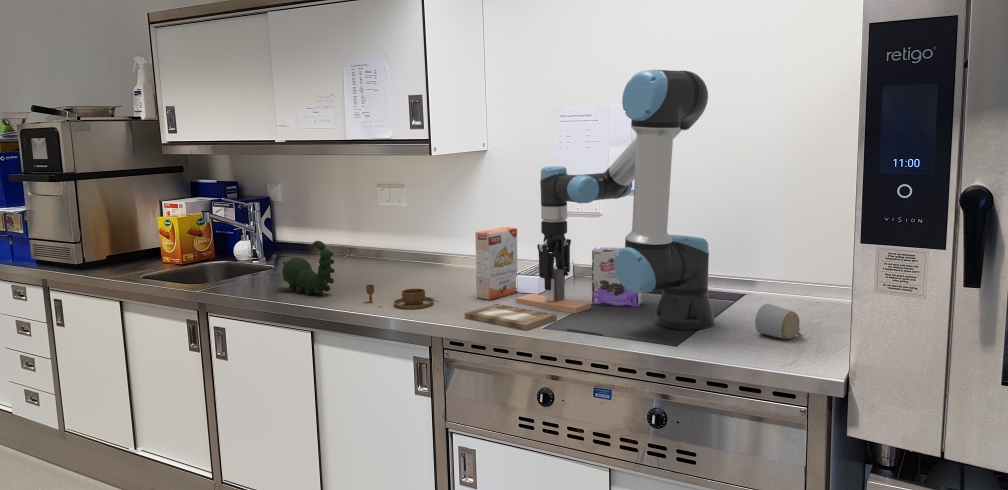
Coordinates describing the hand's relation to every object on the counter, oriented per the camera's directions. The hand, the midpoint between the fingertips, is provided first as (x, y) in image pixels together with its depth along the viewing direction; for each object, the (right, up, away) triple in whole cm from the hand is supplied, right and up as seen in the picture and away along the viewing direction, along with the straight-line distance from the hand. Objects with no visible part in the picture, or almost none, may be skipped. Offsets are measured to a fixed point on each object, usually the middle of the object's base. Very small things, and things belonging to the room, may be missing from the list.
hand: (555, 298), depth 224 cm
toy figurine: (-80, 0, +26) cm, 84 cm away
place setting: (-45, -3, +8) cm, 46 cm away
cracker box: (-17, 0, +14) cm, 22 cm away
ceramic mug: (+53, -7, -37) cm, 65 cm away
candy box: (+18, -2, 0) cm, 18 cm away
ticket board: (-13, -5, -15) cm, 21 cm away
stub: (-1, -2, -1) cm, 2 cm away
